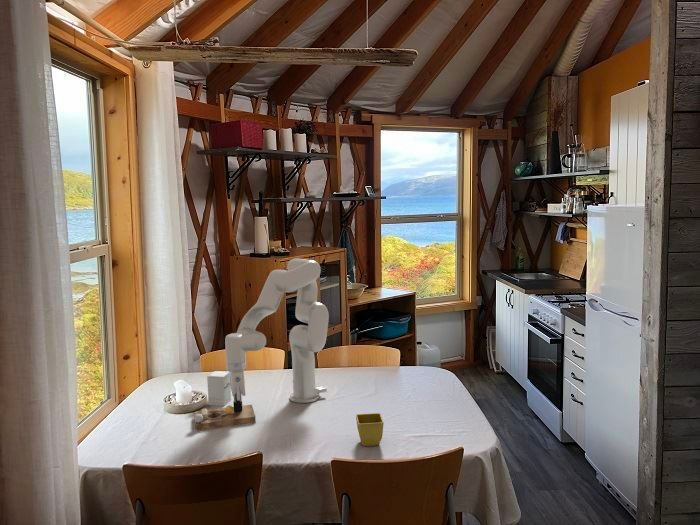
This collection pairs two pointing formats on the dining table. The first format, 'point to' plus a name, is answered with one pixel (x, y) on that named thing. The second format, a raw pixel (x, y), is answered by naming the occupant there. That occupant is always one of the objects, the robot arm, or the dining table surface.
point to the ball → (229, 409)
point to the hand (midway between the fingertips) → (238, 411)
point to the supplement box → (219, 388)
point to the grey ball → (198, 418)
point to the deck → (225, 418)
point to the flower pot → (370, 428)
